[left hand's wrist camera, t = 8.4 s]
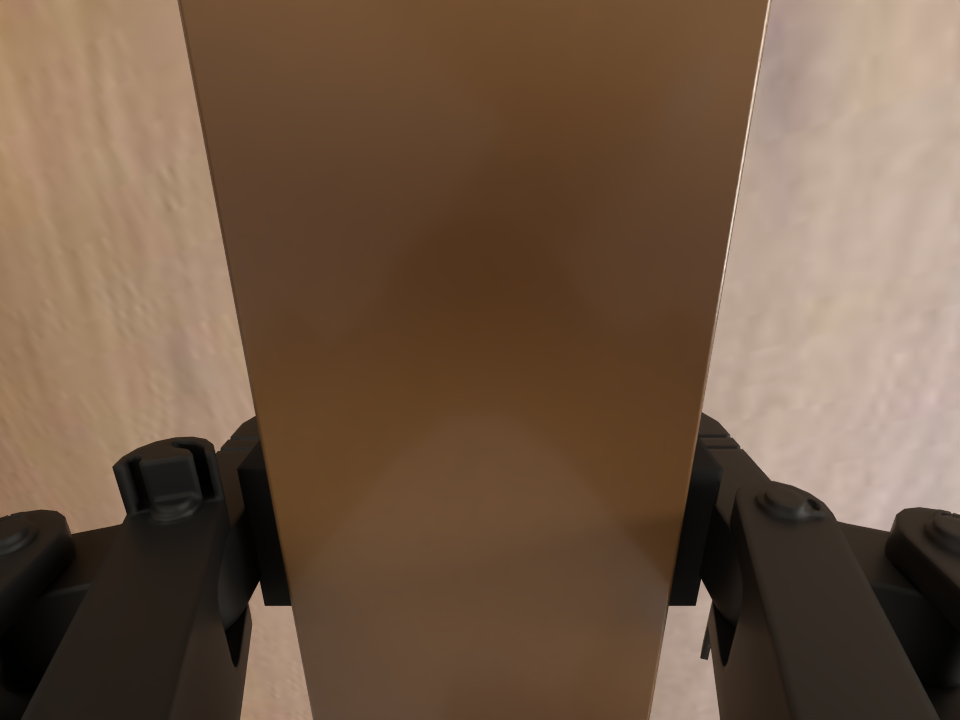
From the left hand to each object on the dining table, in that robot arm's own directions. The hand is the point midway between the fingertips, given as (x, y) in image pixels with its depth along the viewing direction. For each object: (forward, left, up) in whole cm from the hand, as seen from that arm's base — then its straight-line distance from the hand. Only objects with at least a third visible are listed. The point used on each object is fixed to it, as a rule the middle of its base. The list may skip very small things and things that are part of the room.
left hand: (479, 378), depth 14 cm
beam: (+21, +5, -1) cm, 22 cm away
